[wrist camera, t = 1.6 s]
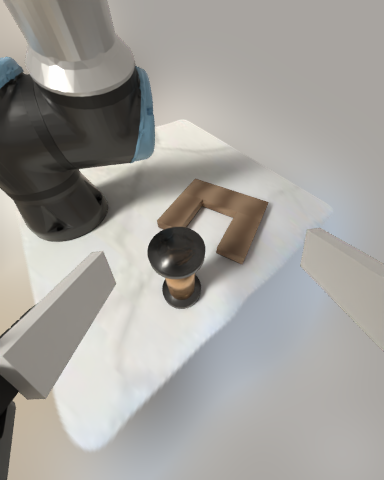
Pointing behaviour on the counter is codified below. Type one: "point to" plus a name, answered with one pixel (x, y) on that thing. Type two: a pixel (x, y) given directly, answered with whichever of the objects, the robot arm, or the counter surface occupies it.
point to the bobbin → (178, 264)
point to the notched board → (223, 201)
